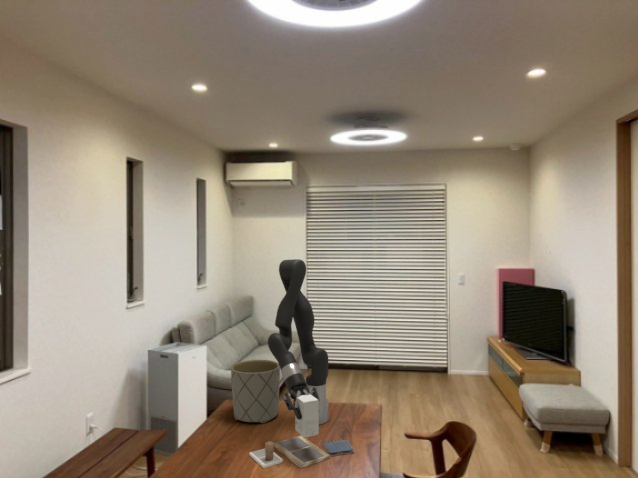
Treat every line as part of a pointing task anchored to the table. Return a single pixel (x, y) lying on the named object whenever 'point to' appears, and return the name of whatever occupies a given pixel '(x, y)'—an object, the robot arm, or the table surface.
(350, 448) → the woven mat
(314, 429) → the small box
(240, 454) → the table surface
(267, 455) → the plate
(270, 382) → the planter
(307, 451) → the board
